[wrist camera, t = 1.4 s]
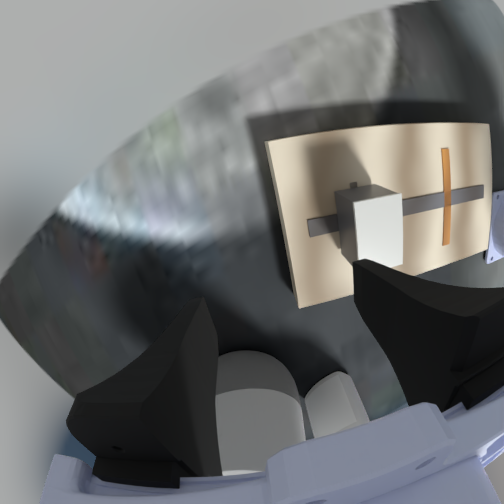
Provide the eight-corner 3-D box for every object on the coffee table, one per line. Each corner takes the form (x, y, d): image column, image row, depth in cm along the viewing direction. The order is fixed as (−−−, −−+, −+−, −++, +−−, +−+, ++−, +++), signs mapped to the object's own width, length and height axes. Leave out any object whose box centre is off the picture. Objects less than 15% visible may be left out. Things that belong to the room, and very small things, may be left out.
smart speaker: (226, 323, 23) (228, 482, 10) (310, 359, 26) (351, 488, 13) (180, 385, 26) (166, 510, 13) (256, 410, 29) (270, 522, 16)
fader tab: (375, 183, 17) (401, 193, 14) (379, 244, 19) (402, 264, 16) (333, 190, 17) (354, 202, 14) (340, 254, 19) (359, 276, 16)
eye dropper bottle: (296, 385, 27) (321, 486, 16) (346, 365, 27) (387, 460, 16) (307, 405, 29) (331, 494, 18) (353, 386, 28) (389, 472, 17)
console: (474, 122, 18) (489, 124, 16) (475, 241, 22) (488, 249, 20) (264, 141, 18) (268, 141, 16) (293, 294, 23) (299, 309, 21)
